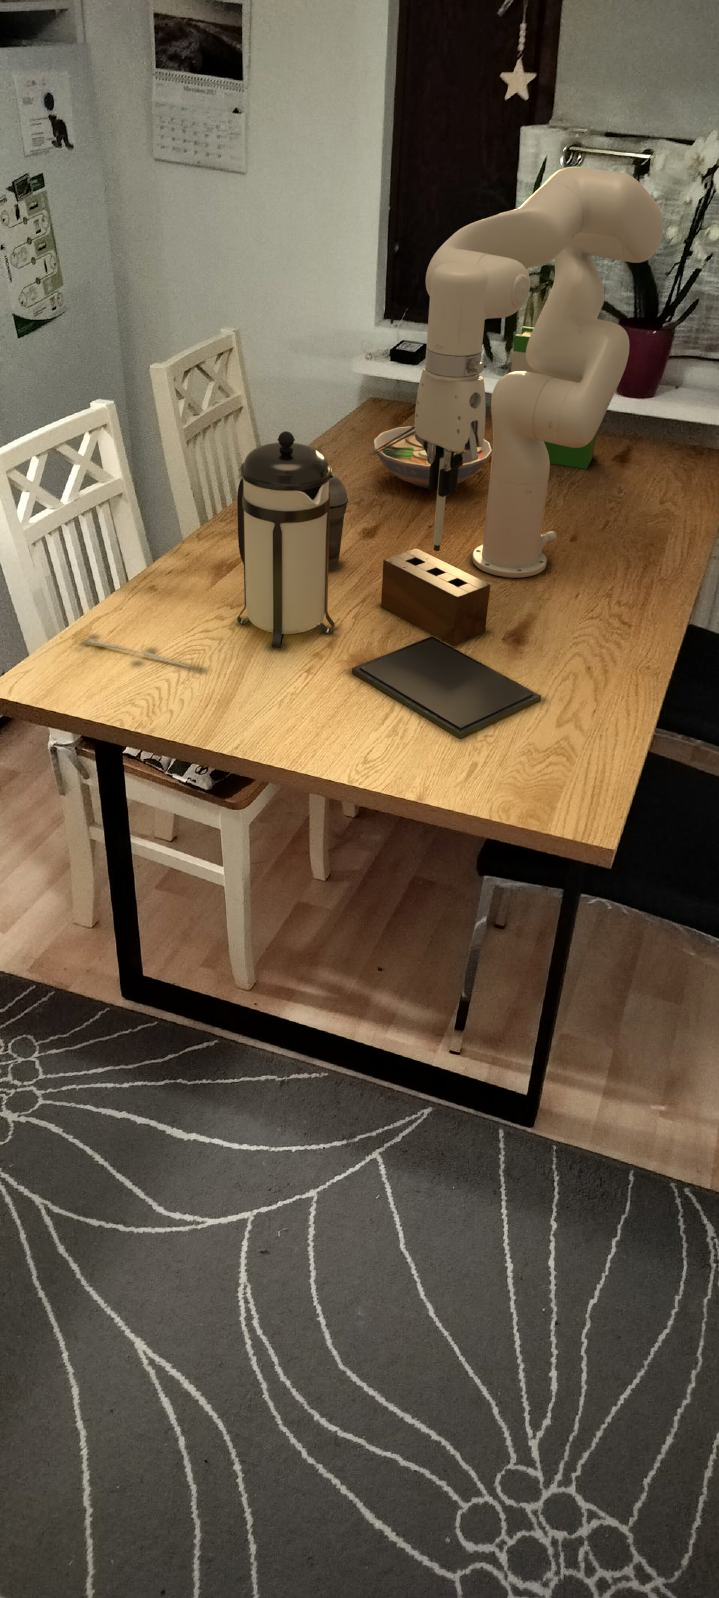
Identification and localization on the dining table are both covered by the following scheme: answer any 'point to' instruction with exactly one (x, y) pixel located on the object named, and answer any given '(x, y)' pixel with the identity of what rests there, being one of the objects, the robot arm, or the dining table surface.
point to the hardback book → (555, 452)
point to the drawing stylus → (439, 515)
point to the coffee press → (285, 537)
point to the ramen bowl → (417, 456)
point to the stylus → (99, 643)
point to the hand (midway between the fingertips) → (442, 491)
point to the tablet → (446, 686)
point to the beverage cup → (336, 518)
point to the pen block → (435, 596)
